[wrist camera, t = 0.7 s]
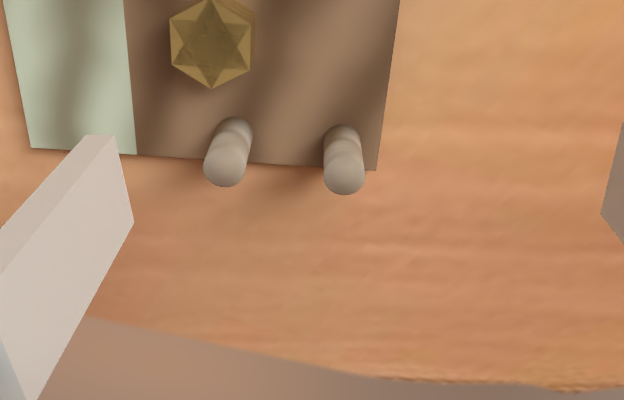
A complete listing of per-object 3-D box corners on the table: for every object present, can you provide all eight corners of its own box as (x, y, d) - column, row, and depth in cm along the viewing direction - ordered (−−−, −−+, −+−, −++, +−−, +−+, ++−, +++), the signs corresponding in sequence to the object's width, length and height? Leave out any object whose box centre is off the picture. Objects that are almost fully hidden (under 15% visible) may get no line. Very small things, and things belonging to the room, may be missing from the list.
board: (38, 139, 39) (-6, 183, 34) (-15, -152, 31) (-86, -154, 26) (374, 162, 40) (382, 209, 35) (413, -117, 31) (432, -113, 26)
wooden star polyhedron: (182, 71, 36) (172, 86, 33) (179, -16, 33) (167, -6, 31) (254, 76, 36) (249, 91, 33) (256, -10, 33) (250, 0, 31)
